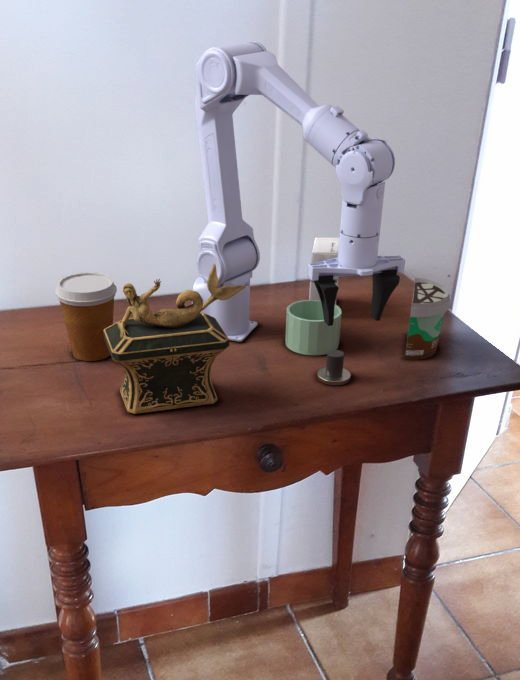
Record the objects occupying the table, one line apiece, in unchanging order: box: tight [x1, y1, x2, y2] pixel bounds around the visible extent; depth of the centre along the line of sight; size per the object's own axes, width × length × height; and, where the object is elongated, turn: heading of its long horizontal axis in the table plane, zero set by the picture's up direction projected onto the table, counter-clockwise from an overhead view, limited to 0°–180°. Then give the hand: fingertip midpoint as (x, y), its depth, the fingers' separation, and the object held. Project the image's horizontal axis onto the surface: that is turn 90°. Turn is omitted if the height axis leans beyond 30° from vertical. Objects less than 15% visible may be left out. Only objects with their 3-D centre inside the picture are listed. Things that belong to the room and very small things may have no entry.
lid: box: [316, 349, 352, 386], centre depth 132 cm, size 5×5×4 cm
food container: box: [404, 277, 451, 360], centre depth 140 cm, size 12×6×10 cm, turn 168°
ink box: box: [308, 236, 339, 305], centre depth 153 cm, size 9×5×12 cm, turn 172°
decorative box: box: [103, 263, 246, 415], centre depth 122 cm, size 20×10×20 cm, turn 107°
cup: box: [284, 299, 342, 356], centre depth 142 cm, size 9×9×6 cm
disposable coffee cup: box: [54, 271, 118, 362], centre depth 136 cm, size 10×10×12 cm
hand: (351, 320), depth 130 cm, fingers open, 7 cm apart
